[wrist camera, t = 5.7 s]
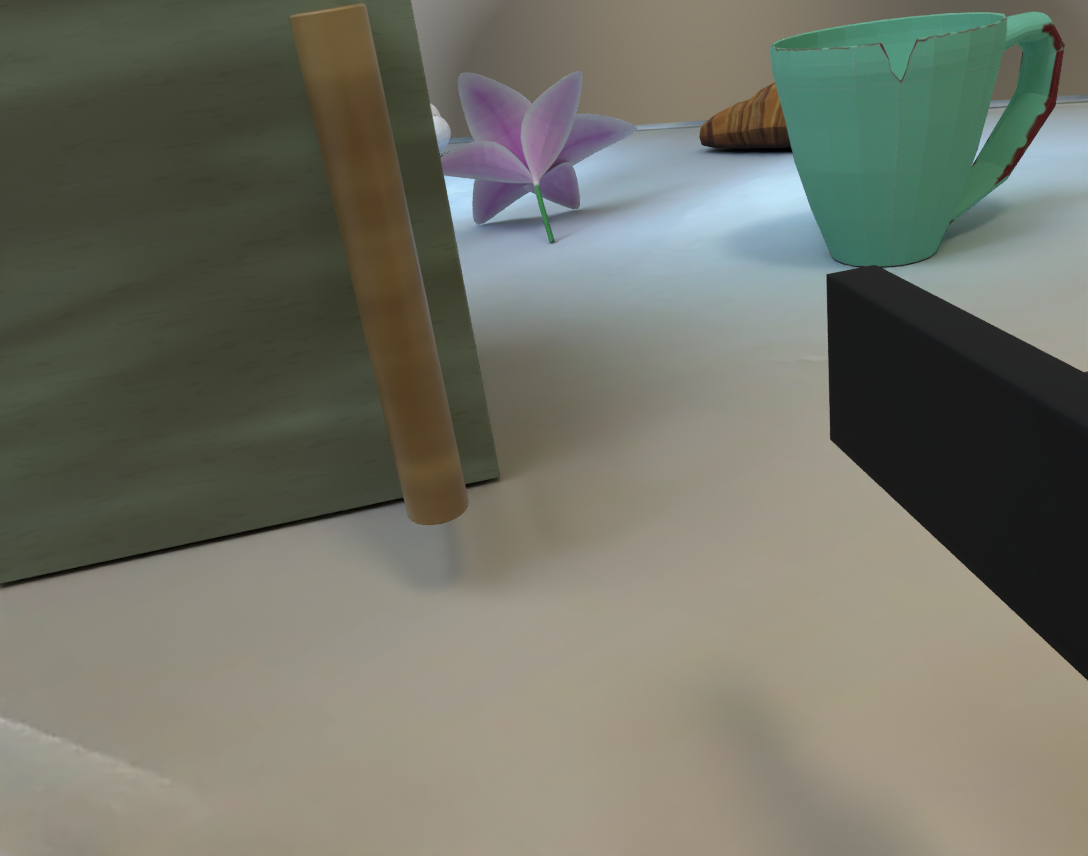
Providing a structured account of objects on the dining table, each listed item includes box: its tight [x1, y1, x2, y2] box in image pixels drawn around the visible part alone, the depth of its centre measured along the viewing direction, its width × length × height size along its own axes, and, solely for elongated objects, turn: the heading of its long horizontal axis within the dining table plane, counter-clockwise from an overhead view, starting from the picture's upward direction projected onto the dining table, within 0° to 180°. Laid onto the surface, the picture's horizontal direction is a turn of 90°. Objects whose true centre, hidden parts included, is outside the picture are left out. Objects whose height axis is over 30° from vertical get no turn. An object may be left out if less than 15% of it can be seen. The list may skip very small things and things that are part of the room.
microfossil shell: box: [430, 104, 451, 153], centre depth 89 cm, size 4×5×6 cm
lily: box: [440, 71, 637, 243], centre depth 59 cm, size 12×12×10 cm
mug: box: [770, 12, 1065, 267], centre depth 45 cm, size 15×10×10 cm
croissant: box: [700, 82, 791, 149], centre depth 71 cm, size 14×7×5 cm, turn 61°
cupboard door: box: [0, 0, 500, 584], centre depth 24 cm, size 7×16×17 cm, turn 100°
